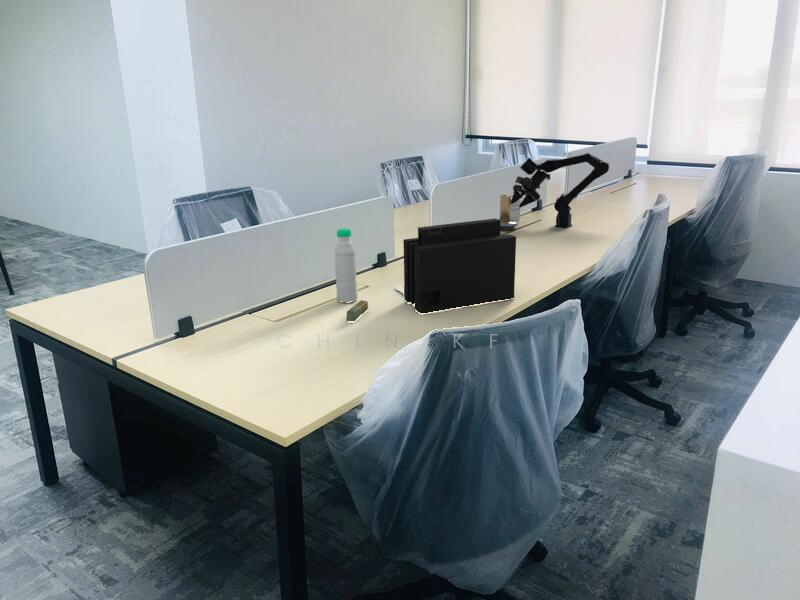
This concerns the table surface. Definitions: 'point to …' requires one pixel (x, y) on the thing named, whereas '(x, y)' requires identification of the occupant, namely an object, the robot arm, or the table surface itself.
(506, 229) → the turntable base
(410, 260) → the game console
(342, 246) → the water bottle
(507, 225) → the turntable platter
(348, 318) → the medication box
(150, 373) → the table surface
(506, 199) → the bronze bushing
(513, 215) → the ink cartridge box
